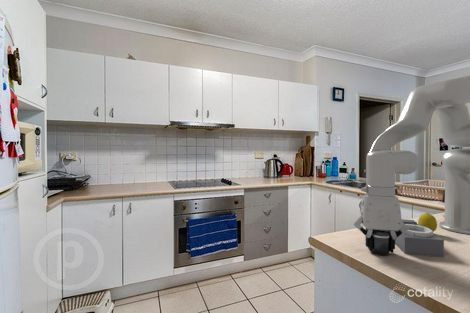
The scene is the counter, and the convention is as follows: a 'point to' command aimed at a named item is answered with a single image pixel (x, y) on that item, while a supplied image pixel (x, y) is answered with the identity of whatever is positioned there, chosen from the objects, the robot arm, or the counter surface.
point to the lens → (381, 242)
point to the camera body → (420, 240)
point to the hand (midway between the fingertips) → (379, 249)
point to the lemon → (428, 221)
